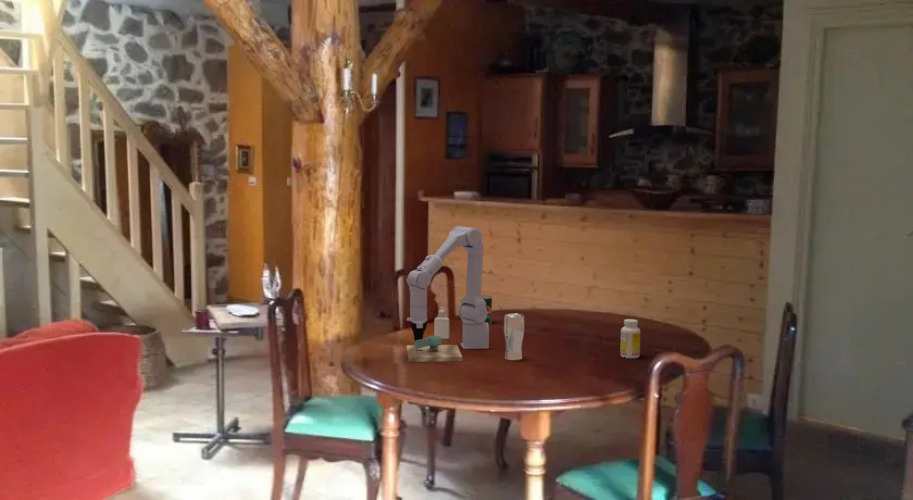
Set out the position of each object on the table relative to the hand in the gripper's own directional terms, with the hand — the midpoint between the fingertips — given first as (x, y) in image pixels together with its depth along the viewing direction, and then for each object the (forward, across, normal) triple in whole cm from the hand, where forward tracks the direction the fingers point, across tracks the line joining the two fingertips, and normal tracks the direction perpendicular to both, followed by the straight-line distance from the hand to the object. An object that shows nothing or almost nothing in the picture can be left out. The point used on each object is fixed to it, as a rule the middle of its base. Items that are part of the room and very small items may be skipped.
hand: (418, 344), depth 300 cm
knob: (+1, 0, +3) cm, 3 cm away
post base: (+4, -2, +5) cm, 7 cm away
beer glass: (+5, +4, +32) cm, 33 cm away
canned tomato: (+5, -56, +29) cm, 64 cm away
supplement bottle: (+5, +4, +73) cm, 74 cm away
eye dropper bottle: (+5, -28, +10) cm, 30 cm away
